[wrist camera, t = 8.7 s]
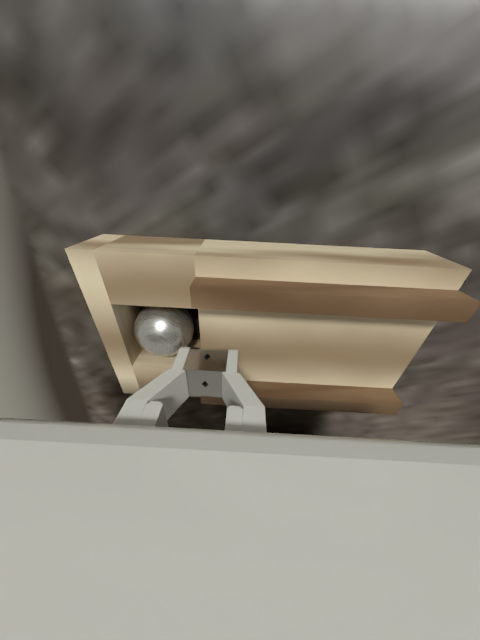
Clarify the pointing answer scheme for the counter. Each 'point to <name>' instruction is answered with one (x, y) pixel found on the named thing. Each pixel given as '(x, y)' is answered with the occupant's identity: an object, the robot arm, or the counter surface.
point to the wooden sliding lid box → (276, 312)
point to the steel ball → (163, 329)
